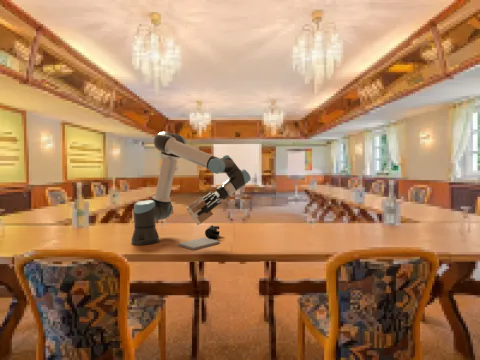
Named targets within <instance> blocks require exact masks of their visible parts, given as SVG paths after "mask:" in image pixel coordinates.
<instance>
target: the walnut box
mask: <svg viewBox="0 0 480 360" xmlns="http://www.w3.org/2000/svg"><path fill="white" fill-rule="evenodd" d="M202 198H203V197H201V196H200V197H198V198H197V199H195V200H194V201H192V202H191V203H190V204H188V205H186V207H184V208H185V210H186V212H187V211H188V212H187V214H188V215H189V214H190V215H189V216H191V215H192V214H194V213H195V212H196V211H198V210H199V209H201V208H203V207H204V206H205V205H207V204H206V203H205V201H204V200H203V199H202ZM201 210H202V209H201ZM213 215H214V214H213V212H212V210H211V211H209V212H208V213H203V214H201V215H200V216H198V217H197V218H196V219H194V220H193V221H194V223H195V224H196V225H197V226H199V225H201V224H202V223H203V222H205V221H206V220H208V219H209V218H210V217H212V216H213Z"/></svg>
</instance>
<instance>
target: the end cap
mask: <svg viewBox="0 0 480 360" xmlns="http://www.w3.org/2000/svg"><path fill="white" fill-rule="evenodd" d="M204 235H205V238H208V239H212V240H218V239H219V238H220V226H218V225H217V226H215V225H213V224H212V225H209V226H208V228H207V229H205V231H204Z"/></svg>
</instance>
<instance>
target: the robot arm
mask: <svg viewBox="0 0 480 360" xmlns="http://www.w3.org/2000/svg"><path fill="white" fill-rule="evenodd" d="M153 144H154V147H155V148H156V150H158V151H159V152H160V155H161V156H162V160H161V165H160V170H159V174H158V179H157V180H158V181H157V185H156V189H155V194H154V195H152V197H151V199H148V200H140V201H137V202H135V203H134V205H133V223H134V224H133V225H134V226H133V227H134V230H133V233H132V236H131V244H132V245H137V246H142V245H143V246H144V245H151V244H152V245H153V244H156V243H158V242H159V241H160V236H159V233H158V231H157V228H156V222H158V221H162V220H165V219H167V218H169V217H170V216H171V215H172V213H173V210H174V206H173V203H172V199H171V197H170V196H171V191H172V186H173V181H174V177H175V173H176V167H177V164H178V162H177V161H178V160H179V159H181V158H182V159H184V160H186V161H188V162H191V163H193V164H195V165H198V166H200V167H202V168H205V169H207V170H208V171H210V172H211V173H213V174H217V175H218V174H225V175H226V176H227V177H228V178H229V179H227V180H226V181H224V182H223V183H222V184H221V185H219V186H217V187H215V190H216V191H214V192H213V191H210V192H208V193H207V194H206V195H204V196H203V197H201V198H202V199H203V200H204V201H205V203H206V204H207V205H205V206H204V207H203V208H201V209H202V210H201V209H199V210H198V211H196V212H195V213H194V214H192V215H190V214H189V213H188V211H187V210H186V212H187V213H188V215H189V216H190V217H191V219H192V220H193V221H194V219H196V218H197V217H198V216H200V215H201V214H203V213H208V212H209V211H211V212H212V210H214V209H215V208H216V207H217V206H218V205H220V204H222V200H226V199H227V198H228V197H230V196H231V195H233V194H234V193H235V192H237V191H238V190H239V189H241V188H242V187H244V186H246V184H248V183H249V182H250V181H251V180H252V178H251V175H250V174H249V172H248V171H247V170H246V169H244V168H243V169H240V168H239V166H238V165H237V164H236V163H235V161H234V160H233V158H232V157H230V155H227V154H226V155H223V156H222V157H218V156H215V155H212V154H210V153H208V152H206V151H205V152H204V151H203V150H200V149H197V148H195V147H193V146H190V145H188V144H187V141H186V139H185V138H184V137H183V135H181V134H178V133H173V132H168V131H160V132H159V133H157V134H156V135H155V137H154V139H153Z"/></svg>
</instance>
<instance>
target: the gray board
mask: <svg viewBox="0 0 480 360" xmlns="http://www.w3.org/2000/svg"><path fill="white" fill-rule="evenodd" d="M220 243H221V242H220V240H218V239H209V238H207V237H199V238H195V239H190V240H188V241H187V240H186V241H183V242H178V243H177V246H178V247H182V248H186V249H188V250H193V251H196V250H200V249H203V248H207V247H211V246H215V245H219V244H220Z"/></svg>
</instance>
